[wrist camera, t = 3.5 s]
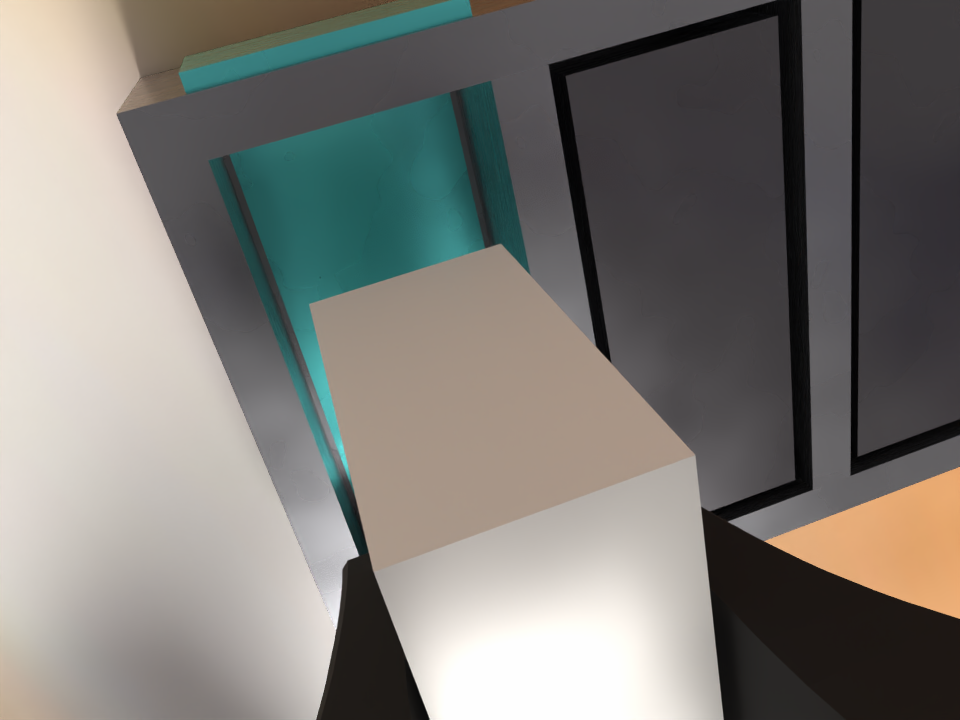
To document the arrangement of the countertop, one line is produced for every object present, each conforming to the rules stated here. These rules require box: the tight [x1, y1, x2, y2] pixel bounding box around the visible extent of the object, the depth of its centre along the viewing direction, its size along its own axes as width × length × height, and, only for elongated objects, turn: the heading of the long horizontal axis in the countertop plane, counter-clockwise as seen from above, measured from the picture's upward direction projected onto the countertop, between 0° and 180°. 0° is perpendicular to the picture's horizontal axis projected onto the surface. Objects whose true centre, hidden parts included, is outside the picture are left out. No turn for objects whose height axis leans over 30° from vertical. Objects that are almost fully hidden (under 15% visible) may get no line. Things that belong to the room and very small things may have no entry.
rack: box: [117, 0, 960, 629], centre depth 18 cm, size 18×13×4 cm
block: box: [309, 244, 724, 720], centre depth 12 cm, size 3×8×6 cm, turn 12°
